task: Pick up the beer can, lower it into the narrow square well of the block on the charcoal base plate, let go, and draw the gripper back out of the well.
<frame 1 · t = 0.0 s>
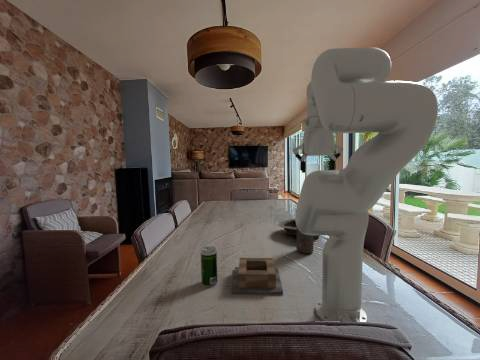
hand: (317, 172, 82), 37 cm above the table, tool pointing down, fingers open, 9 cm apart
well block: (256, 280, 80), on the table
brown cylinder: (304, 252, 104), on the table
beer can: (209, 283, 79), on the table
stone bowl: (300, 235, 126), on the table
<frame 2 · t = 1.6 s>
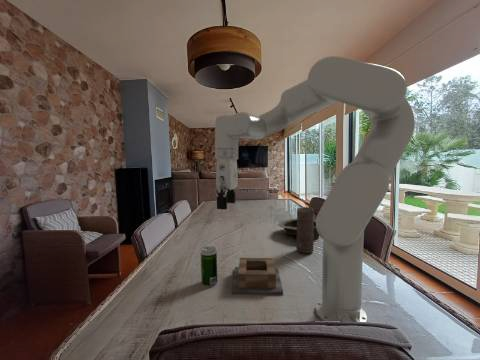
hand: (226, 205, 78), 26 cm above the table, tool pointing down, fingers open, 9 cm apart
nothing on the table moved.
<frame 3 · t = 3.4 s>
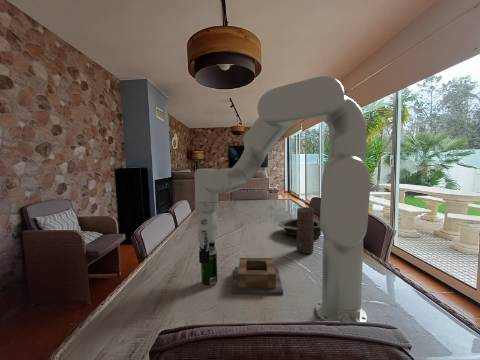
hand: (207, 256, 78), 10 cm above the table, tool pointing down, fingers open, 9 cm apart
nothing on the table moved.
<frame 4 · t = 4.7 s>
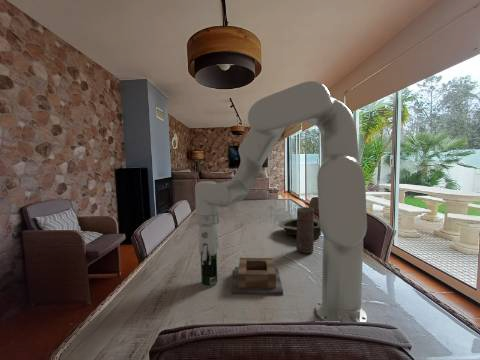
hand: (209, 270, 78), 5 cm above the table, tool pointing down, fingers closed on beer can, 5 cm apart
beer can: (209, 283, 79), on the table, touching gripper
everything else where it was.
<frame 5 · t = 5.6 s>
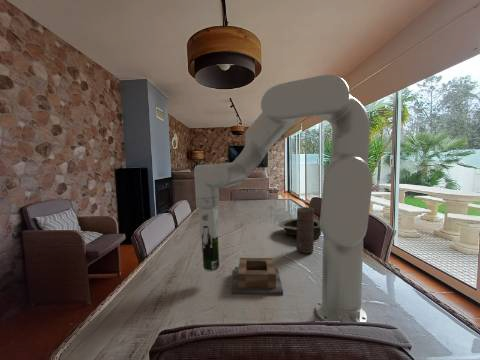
hand: (210, 255, 77), 10 cm above the table, tool pointing down, fingers closed on beer can, 5 cm apart
beer can: (211, 268, 78), point 5 cm above the table, touching gripper
everything else where it was.
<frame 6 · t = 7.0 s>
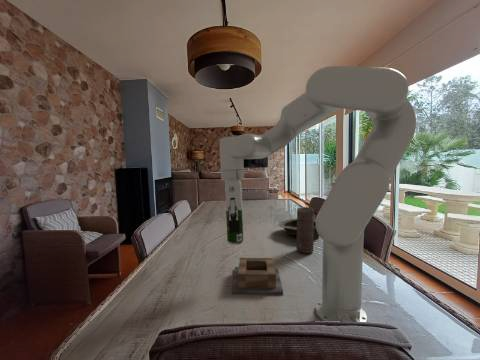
hand: (234, 228, 77), 19 cm above the table, tool pointing down, fingers closed on beer can, 5 cm apart
beer can: (235, 242, 78), point 14 cm above the table, touching gripper
everything else where it was.
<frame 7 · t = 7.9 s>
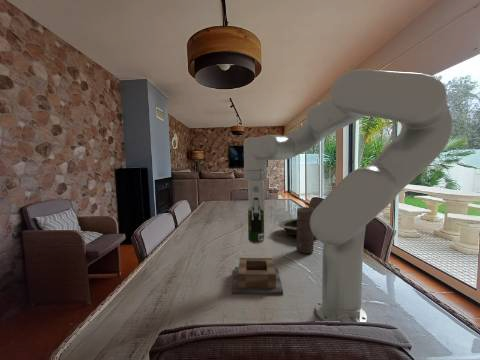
hand: (256, 228, 78), 19 cm above the table, tool pointing down, fingers closed on beer can, 5 cm apart
beer can: (256, 241, 79), point 14 cm above the table, touching gripper
everything else where it was.
when the fingers open (7 cm above the table, at t = 10.3 s): beer can drops 1 cm, resting on well block.
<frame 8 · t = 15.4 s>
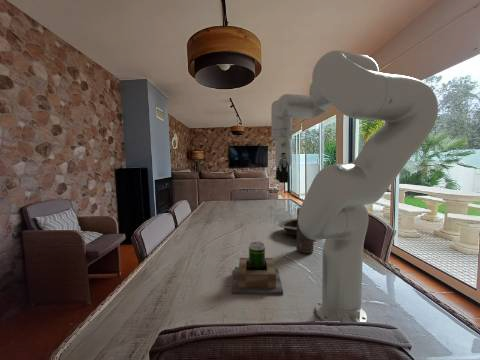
hand: (281, 181, 87), 33 cm above the table, tool pointing down, fingers open, 9 cm apart
beer can: (257, 278, 80), point 1 cm above the table, touching well block
everything else where it was.
at the end: beer can 0.2 cm off-centre on the well block, point 0.8 cm above the well block's base; beer can tilted 0°; the gripper is holding nothing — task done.
